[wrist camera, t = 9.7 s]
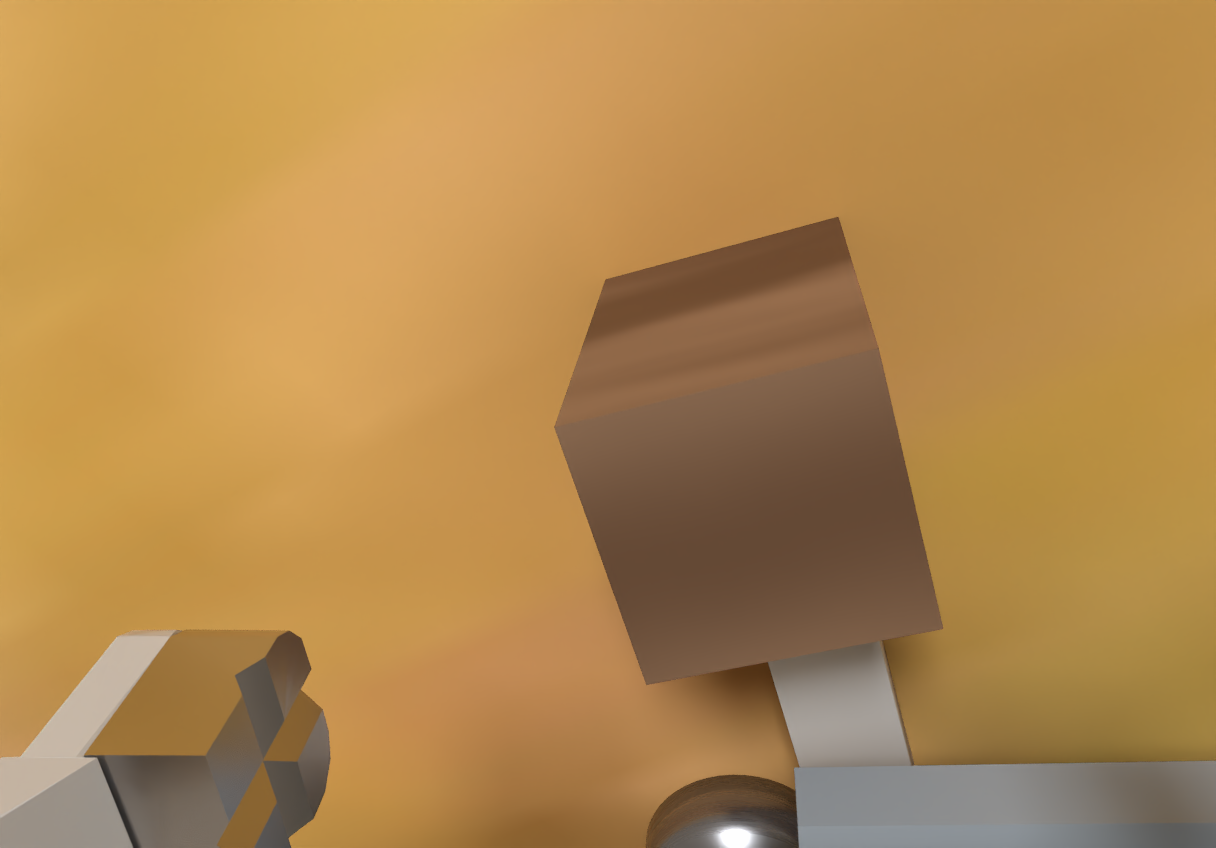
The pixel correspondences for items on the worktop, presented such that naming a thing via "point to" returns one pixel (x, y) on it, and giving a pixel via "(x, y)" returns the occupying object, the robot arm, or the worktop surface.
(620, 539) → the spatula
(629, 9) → the worktop surface
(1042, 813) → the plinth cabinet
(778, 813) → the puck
